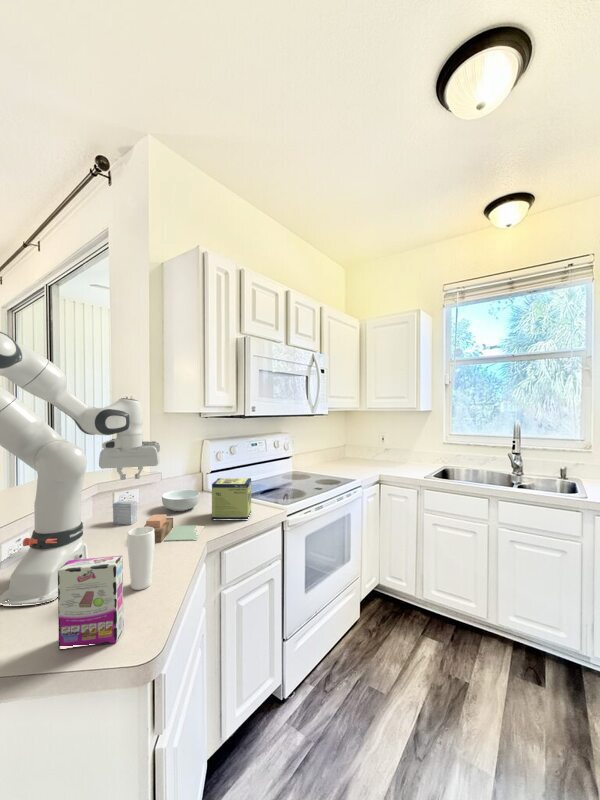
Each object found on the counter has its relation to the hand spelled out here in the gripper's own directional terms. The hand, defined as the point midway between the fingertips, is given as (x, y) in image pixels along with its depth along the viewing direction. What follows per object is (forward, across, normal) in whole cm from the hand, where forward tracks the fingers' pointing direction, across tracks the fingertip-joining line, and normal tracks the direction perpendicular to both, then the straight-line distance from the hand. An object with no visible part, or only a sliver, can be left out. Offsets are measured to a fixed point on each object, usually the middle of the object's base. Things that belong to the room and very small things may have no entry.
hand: (130, 479), depth 130 cm
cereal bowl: (+21, -16, -29) cm, 39 cm away
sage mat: (+21, -20, +3) cm, 29 cm away
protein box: (+21, -38, -12) cm, 45 cm away
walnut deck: (+21, -9, +2) cm, 23 cm away
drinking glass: (+21, -11, +39) cm, 46 cm away
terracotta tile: (+17, -9, +2) cm, 20 cm away
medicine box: (+21, +5, -15) cm, 27 cm away
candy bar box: (+21, -5, +59) cm, 63 cm away
